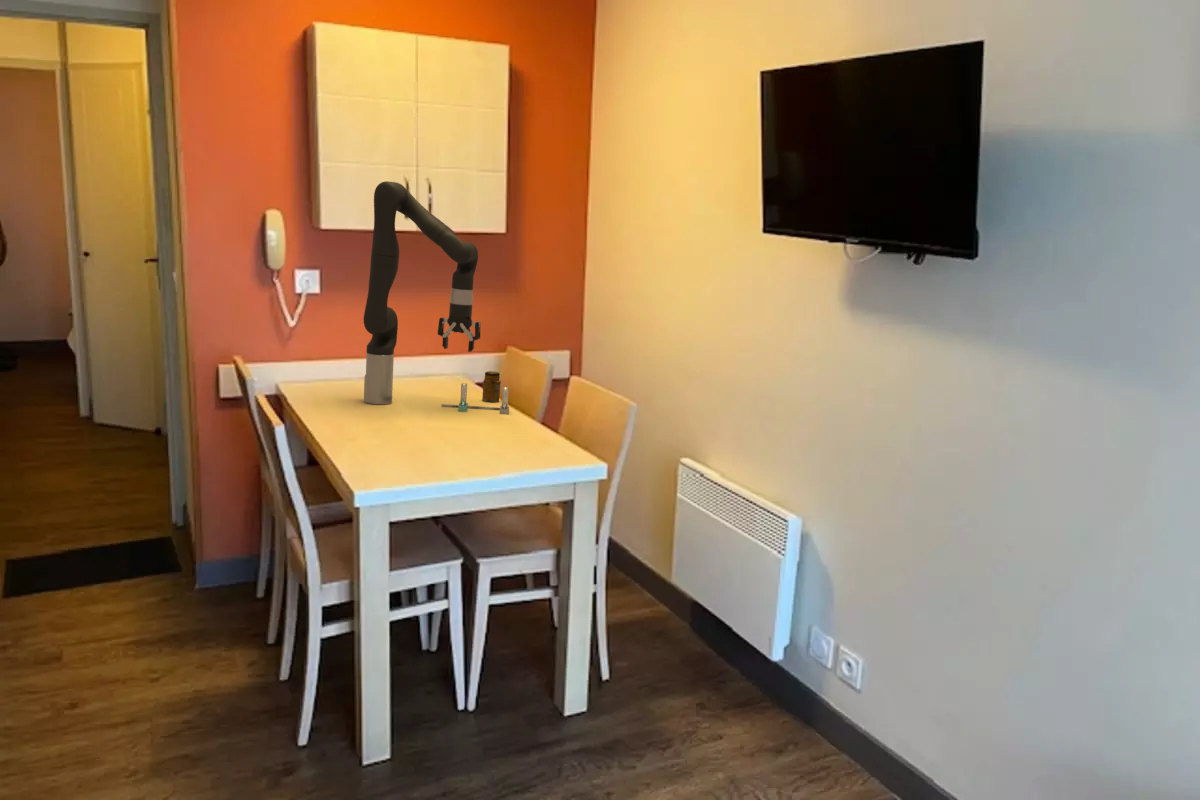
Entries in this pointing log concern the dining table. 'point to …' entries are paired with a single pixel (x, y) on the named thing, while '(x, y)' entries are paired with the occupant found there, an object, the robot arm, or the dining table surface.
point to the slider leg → (463, 399)
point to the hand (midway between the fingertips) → (457, 350)
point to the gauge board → (472, 407)
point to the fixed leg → (504, 401)
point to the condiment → (491, 387)
